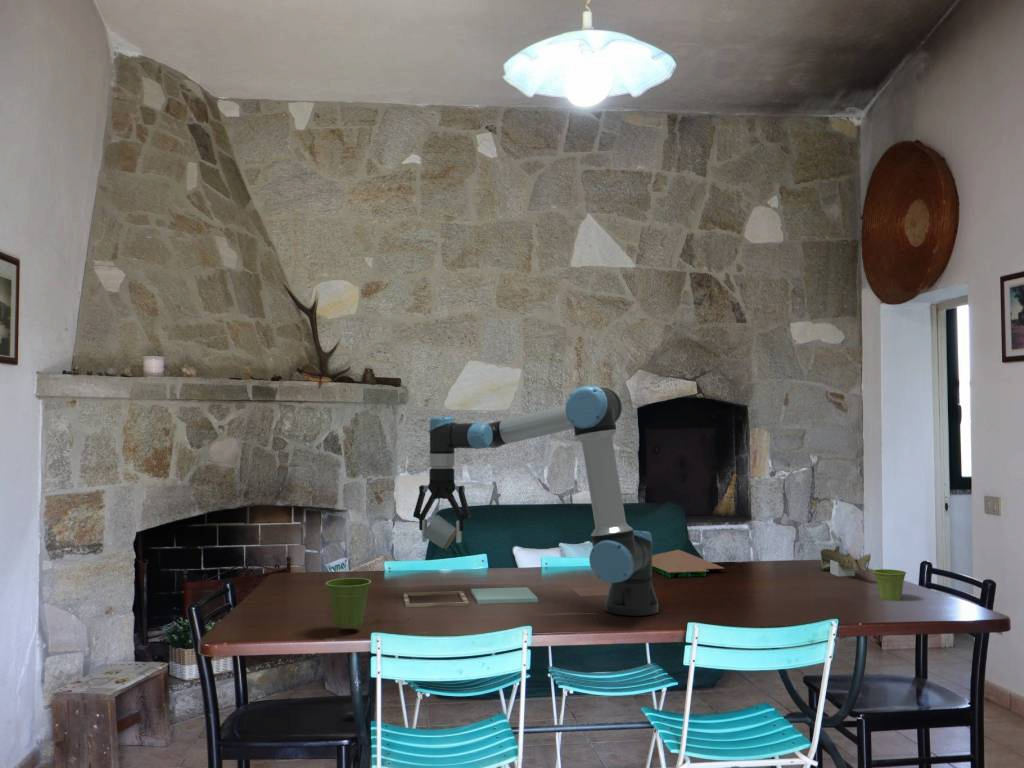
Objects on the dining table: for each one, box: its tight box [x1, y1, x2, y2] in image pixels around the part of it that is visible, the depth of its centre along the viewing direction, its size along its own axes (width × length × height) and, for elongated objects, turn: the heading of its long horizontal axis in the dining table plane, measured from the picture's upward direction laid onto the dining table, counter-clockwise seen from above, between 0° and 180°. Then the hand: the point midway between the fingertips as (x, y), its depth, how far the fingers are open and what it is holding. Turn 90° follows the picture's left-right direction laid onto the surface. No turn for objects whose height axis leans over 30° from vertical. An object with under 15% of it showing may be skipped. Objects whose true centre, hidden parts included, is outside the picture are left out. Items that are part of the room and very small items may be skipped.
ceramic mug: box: [423, 514, 457, 550], centre depth 265 cm, size 11×8×8 cm
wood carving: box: [820, 545, 872, 577], centre depth 304 cm, size 9×35×11 cm, turn 5°
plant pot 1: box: [325, 577, 372, 629], centre depth 231 cm, size 12×12×11 cm
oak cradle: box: [402, 590, 470, 608], centre depth 264 cm, size 18×18×1 cm
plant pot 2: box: [872, 568, 907, 602], centre depth 268 cm, size 9×9×9 cm
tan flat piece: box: [652, 549, 725, 579], centre depth 319 cm, size 23×33×8 cm
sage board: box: [470, 586, 539, 605], centre depth 269 cm, size 18×18×1 cm
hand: (441, 541), depth 265 cm, fingers closed on ceramic mug, 10 cm apart
